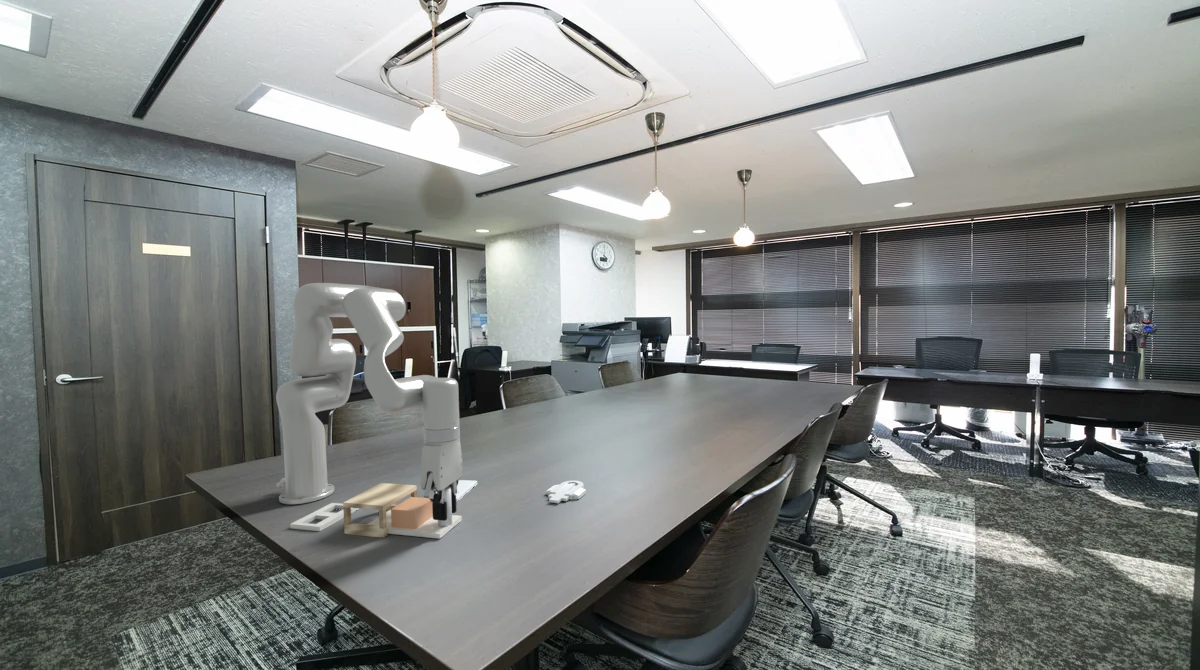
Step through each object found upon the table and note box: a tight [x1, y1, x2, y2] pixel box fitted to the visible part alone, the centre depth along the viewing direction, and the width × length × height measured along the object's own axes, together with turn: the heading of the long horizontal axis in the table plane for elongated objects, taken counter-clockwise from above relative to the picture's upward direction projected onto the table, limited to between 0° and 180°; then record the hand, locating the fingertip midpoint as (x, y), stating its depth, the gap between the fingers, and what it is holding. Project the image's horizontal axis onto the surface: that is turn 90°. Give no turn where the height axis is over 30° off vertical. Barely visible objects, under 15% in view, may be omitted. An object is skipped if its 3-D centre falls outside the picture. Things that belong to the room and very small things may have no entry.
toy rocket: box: [545, 479, 587, 504], centre depth 123 cm, size 16×10×2 cm, turn 157°
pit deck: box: [289, 502, 360, 532], centre depth 110 cm, size 8×12×1 cm, turn 167°
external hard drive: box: [436, 479, 478, 502], centre depth 125 cm, size 2×8×12 cm
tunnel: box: [342, 482, 418, 539], centre depth 106 cm, size 10×12×7 cm
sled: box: [366, 486, 463, 539], centre depth 104 cm, size 19×9×9 cm, turn 77°
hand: (444, 515), depth 103 cm, fingers closed on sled, 3 cm apart
